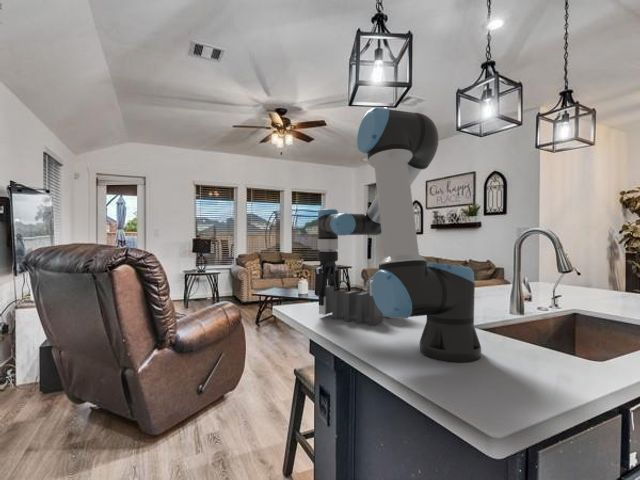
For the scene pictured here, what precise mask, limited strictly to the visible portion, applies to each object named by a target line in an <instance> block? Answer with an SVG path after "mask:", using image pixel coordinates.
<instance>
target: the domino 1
mask: <svg viewBox="0 0 640 480" xmlns="http://www.w3.org/2000/svg"><path fill="white" fill-rule="evenodd" d="M332 291H334V286H333V285H329V284H328V285H326V291H325V297H326V314H325V316H326V315H329V314H332ZM322 315H324V314H322Z"/></svg>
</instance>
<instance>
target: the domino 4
mask: <svg viewBox="0 0 640 480" xmlns="http://www.w3.org/2000/svg"><path fill="white" fill-rule="evenodd" d="M369 296H370V291H363V292H360V293H358V294H356V319H355V321H356V322H355V323H356V324H359V325H363V324H365V323H367V322H369Z"/></svg>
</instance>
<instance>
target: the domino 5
mask: <svg viewBox="0 0 640 480" xmlns="http://www.w3.org/2000/svg"><path fill="white" fill-rule="evenodd" d="M383 319H384V317H383V313H382V312H381V311H380V309H379V308H378V307H377V305H376V303H375V301H374V298H373V295H370V296H369V321H368V324H369V325H368V326H371V327H376V326H379V325H380V323H381V324H382V322H383Z"/></svg>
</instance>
